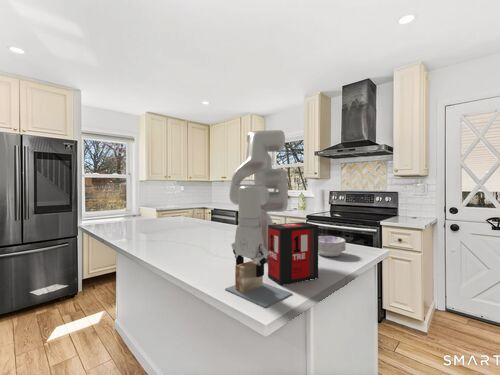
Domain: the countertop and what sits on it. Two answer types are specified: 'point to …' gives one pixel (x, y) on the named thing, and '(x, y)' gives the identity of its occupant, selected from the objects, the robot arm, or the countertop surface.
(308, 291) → the countertop surface
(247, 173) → the robot arm
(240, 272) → the brown block
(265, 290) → the mat
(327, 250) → the paper bowls
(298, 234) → the cleaning product box
